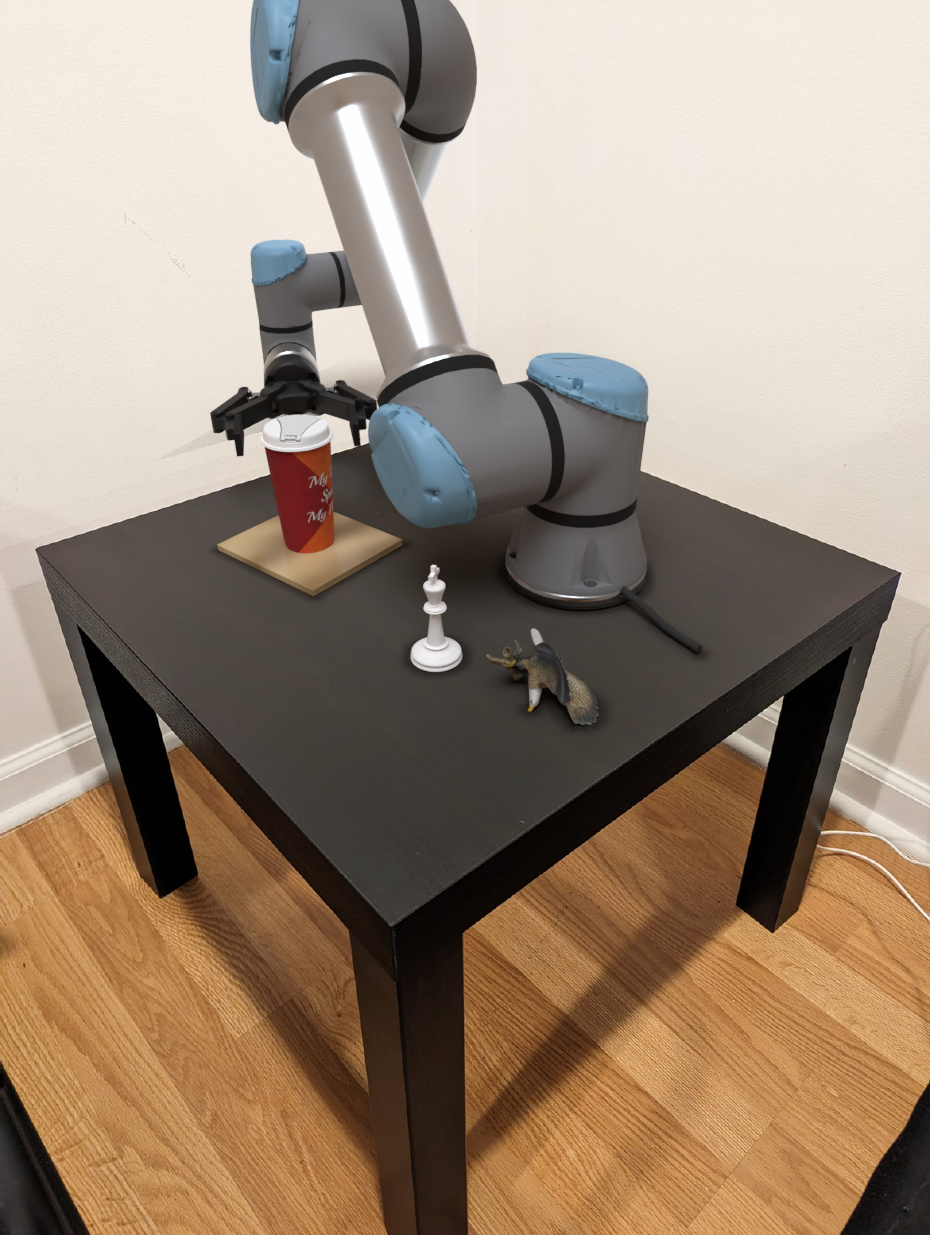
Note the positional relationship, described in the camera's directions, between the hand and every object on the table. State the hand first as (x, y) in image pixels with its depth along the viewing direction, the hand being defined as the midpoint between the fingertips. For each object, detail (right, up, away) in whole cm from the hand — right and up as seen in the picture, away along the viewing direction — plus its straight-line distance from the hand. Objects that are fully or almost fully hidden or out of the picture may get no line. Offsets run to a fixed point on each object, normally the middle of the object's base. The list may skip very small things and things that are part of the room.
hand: (298, 440), depth 101 cm
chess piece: (+17, -24, -18) cm, 35 cm away
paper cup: (+2, -12, -1) cm, 12 cm away
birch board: (+2, -13, -1) cm, 13 cm away
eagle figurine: (+27, -28, -24) cm, 46 cm away
